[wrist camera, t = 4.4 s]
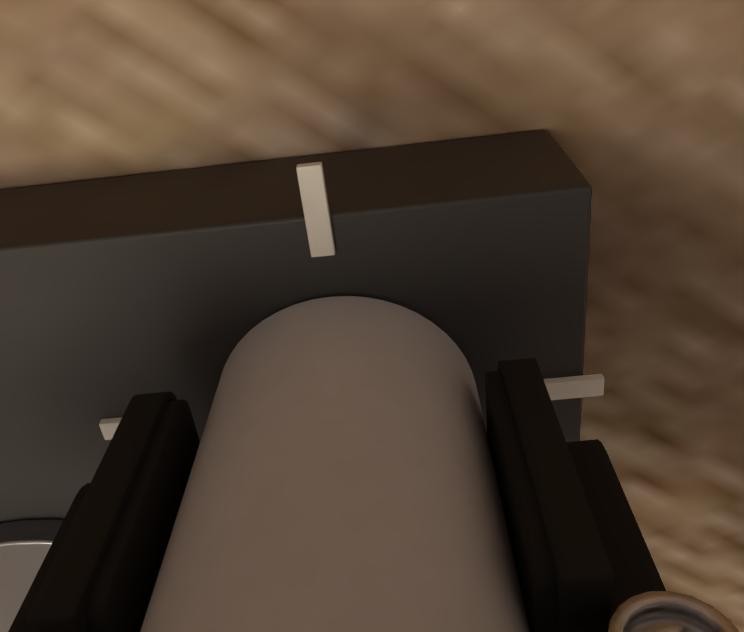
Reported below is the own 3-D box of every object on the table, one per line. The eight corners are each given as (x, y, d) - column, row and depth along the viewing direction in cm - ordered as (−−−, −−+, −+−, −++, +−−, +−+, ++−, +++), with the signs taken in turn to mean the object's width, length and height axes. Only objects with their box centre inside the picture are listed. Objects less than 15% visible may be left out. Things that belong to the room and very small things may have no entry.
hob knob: (471, 280, 11) (573, 660, 5) (481, 489, 13) (561, 909, 8) (191, 308, 11) (18, 699, 6) (247, 509, 13) (162, 929, 8)
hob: (566, 81, 12) (621, 132, 10) (550, 622, 20) (580, 738, 17) (-264, 175, 13) (-430, 246, 10) (23, 660, 21) (-30, 776, 18)
